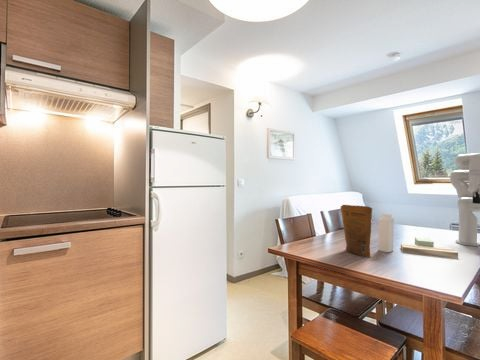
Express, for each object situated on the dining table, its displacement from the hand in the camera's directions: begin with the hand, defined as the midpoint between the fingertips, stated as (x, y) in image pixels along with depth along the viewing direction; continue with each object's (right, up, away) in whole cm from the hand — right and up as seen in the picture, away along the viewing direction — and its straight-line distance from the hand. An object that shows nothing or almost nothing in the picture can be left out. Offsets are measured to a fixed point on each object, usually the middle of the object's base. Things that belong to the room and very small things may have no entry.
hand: (476, 203), depth 161 cm
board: (-34, -29, -6) cm, 45 cm away
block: (-30, -29, +3) cm, 42 cm away
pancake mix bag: (-78, -28, -10) cm, 84 cm away
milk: (-57, -29, -2) cm, 64 cm away
